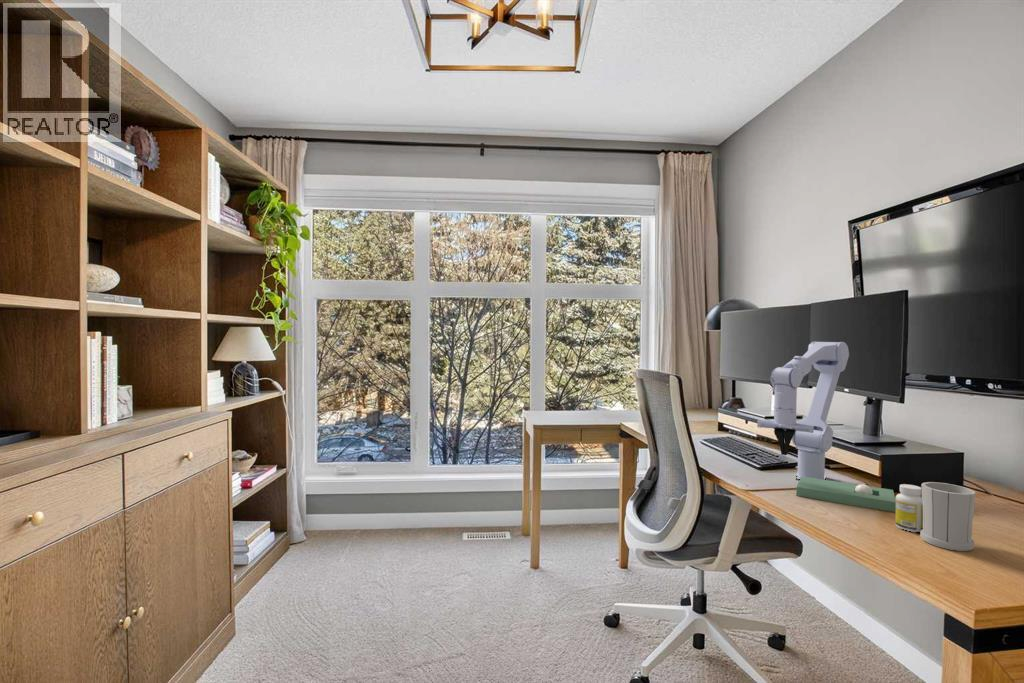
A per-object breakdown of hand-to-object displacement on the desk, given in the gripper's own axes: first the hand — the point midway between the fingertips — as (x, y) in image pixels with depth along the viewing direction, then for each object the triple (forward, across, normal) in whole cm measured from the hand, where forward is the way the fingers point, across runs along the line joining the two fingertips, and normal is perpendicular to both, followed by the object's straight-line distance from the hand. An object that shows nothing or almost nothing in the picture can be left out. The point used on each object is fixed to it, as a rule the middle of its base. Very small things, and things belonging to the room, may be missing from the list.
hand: (784, 454), depth 149 cm
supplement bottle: (+10, +28, -20) cm, 36 cm away
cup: (+10, +34, -25) cm, 43 cm away
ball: (+7, +19, -1) cm, 21 cm away
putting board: (+9, +15, -2) cm, 18 cm away
